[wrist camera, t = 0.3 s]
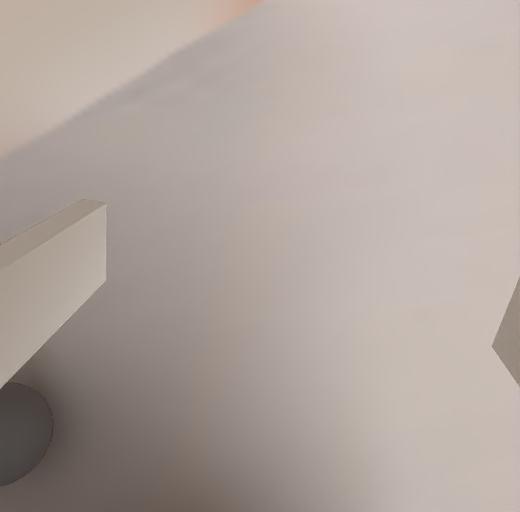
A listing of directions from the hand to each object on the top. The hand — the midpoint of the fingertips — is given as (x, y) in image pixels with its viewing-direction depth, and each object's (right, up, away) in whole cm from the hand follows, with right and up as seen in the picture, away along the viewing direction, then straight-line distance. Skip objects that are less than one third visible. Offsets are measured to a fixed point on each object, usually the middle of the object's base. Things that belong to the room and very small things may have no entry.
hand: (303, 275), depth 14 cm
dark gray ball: (-16, -9, +11) cm, 21 cm away
